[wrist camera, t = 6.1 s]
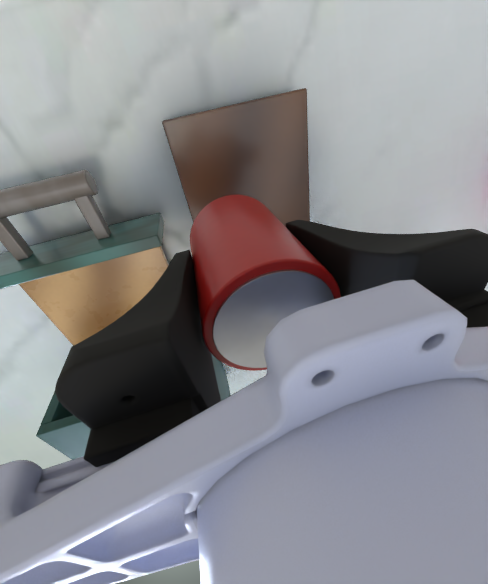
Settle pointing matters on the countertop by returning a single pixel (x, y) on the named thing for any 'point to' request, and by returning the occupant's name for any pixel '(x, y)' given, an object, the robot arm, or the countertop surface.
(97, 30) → the countertop surface
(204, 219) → the can
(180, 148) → the brown square board
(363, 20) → the countertop surface
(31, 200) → the handled drawer
